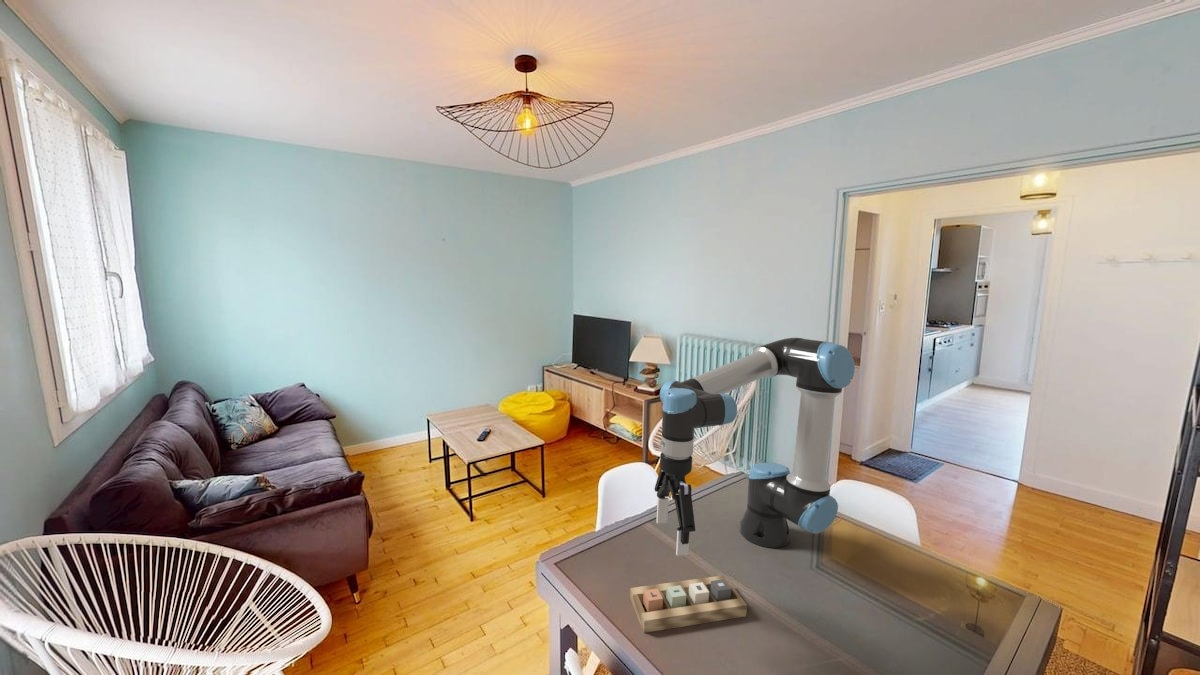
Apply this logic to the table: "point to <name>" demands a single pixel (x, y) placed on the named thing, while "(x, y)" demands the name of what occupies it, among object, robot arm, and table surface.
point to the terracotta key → (652, 600)
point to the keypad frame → (686, 607)
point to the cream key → (698, 593)
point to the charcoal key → (720, 590)
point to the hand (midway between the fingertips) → (671, 537)
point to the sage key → (676, 597)
